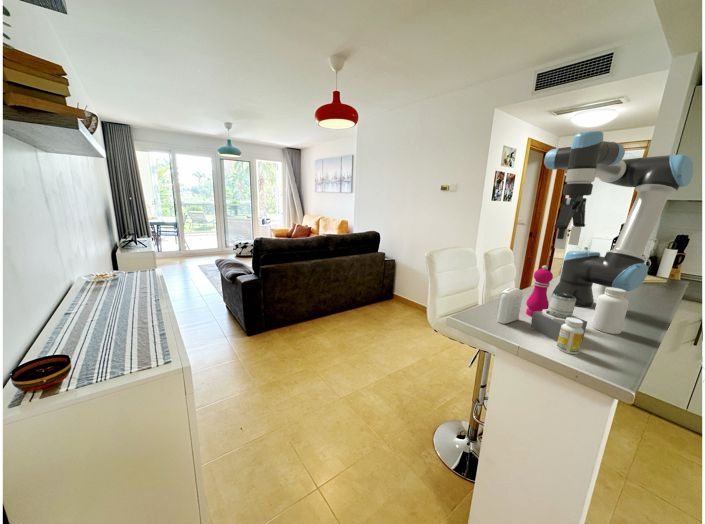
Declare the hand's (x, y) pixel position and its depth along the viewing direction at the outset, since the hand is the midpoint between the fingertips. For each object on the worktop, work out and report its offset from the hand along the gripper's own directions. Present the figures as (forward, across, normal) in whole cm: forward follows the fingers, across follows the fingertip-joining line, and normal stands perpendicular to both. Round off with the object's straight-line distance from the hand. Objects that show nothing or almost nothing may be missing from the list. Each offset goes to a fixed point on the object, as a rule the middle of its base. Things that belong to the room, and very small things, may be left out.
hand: (566, 246), depth 98 cm
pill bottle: (+29, -10, +13) cm, 33 cm away
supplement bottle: (+28, +20, +11) cm, 36 cm away
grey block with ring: (+28, +10, +4) cm, 30 cm away
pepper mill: (+28, -1, -6) cm, 29 cm away
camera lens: (+22, +10, +4) cm, 25 cm away
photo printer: (+28, +14, -10) cm, 33 cm away
